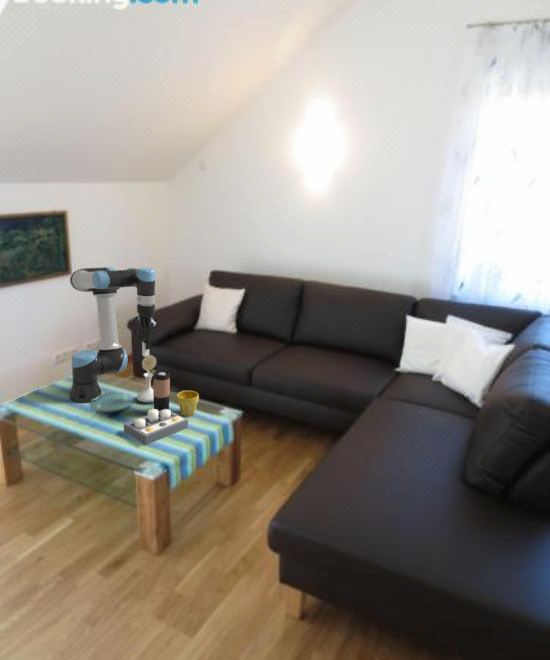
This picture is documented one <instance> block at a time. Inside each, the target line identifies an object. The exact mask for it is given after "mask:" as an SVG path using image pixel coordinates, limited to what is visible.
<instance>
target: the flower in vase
mask: <svg viewBox="0 0 550 660" xmlns="http://www.w3.org/2000/svg"><path fill="white" fill-rule="evenodd" d="M141 365H142V369H143V370H145V373H143V377H144V380H145V388H144V389H143V390H141V391H139V393H137V396H136V399H137V400H138V401H139V402H142V403H154V397H153V391H154V388H152V387H151V383H152V382H151V381H152V378H153V377H154V372H155V371H156V370H155V369H154V368H155V367H156V365H157V358H156V357H155V356H154V355H152V354H149V355H148V356H144V358H143V360H142V361H141Z"/></svg>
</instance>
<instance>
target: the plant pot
mask: <svg viewBox="0 0 550 660" xmlns="http://www.w3.org/2000/svg"><path fill="white" fill-rule="evenodd" d="M199 396H200V395H199V392H197V391H194V390H182V391H180V392H178V393H177V395H176V402H177V403H178V407H179V410H180V415H183V416H184V415H185V416H184V417H190V416H194V414H195V413H196V408H197V404H198V403H199V401H200V397H199Z"/></svg>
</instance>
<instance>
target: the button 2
mask: <svg viewBox="0 0 550 660" xmlns="http://www.w3.org/2000/svg"><path fill="white" fill-rule="evenodd" d="M147 415H148V422H149V423H151V424H153V423H156V422H158V410H157V409H154V408H151V409H150V408H149V409H148V410H147Z"/></svg>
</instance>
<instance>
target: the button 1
mask: <svg viewBox="0 0 550 660" xmlns="http://www.w3.org/2000/svg"><path fill="white" fill-rule="evenodd" d="M134 420H135V427H136V428H137V429H140V428H143V427H145V419H143V418H141V417H138V418H135V419H134Z"/></svg>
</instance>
